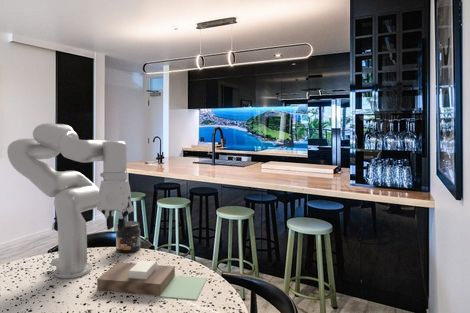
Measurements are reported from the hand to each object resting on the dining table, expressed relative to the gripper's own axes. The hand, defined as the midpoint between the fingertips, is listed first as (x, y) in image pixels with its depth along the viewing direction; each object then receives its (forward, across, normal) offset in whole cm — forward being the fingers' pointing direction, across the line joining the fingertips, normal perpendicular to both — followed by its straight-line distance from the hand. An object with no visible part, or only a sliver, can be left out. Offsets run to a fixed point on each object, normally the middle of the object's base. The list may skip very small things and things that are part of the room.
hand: (115, 228), depth 110 cm
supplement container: (+20, -10, +30) cm, 37 cm away
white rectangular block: (+14, +10, 0) cm, 17 cm away
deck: (+19, +8, 0) cm, 21 cm away
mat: (+19, +25, 0) cm, 32 cm away
